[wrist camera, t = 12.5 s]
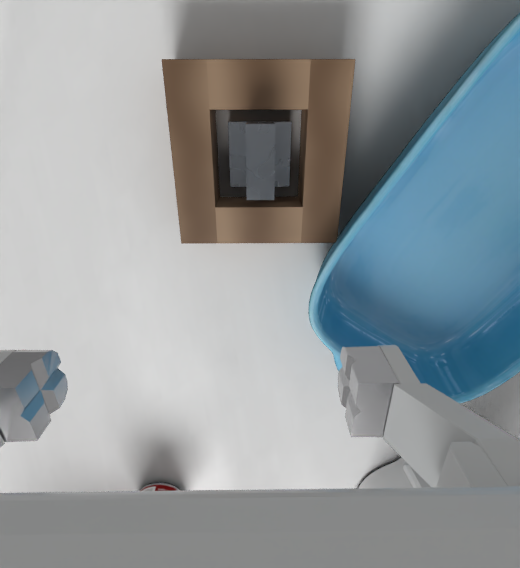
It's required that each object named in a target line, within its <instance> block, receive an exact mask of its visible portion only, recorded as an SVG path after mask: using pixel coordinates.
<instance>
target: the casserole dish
mask: <svg viewBox="0 0 520 568" xmlns="http://www.w3.org/2000/svg"><path fill="white" fill-rule="evenodd" d="M309 319H310V323H311V326H312V328H313V330H314V332H315V333H316V335H317V336H318V337H319V339H320V340H321V341H322V342H323V343H324V344H325V345H326V346H327V347H328V348H329V349H330V350H331V351H332V353H333V355H334V360H335V364H336V366H337V369H338V371H339V370H340V369H341V368H342V367H343V366H342V363H341V360H340V355H341V349H342V347H356V346H378V345H396V346H398V347H399V349H400V350H401V352H402V354H403V355H404V357H405V359H406V360H407V362H408V363H409V365H410V367H411V368H412V370H413V371H414V373H415V375H416V376H417V378H418V380H419V381H420V383H426V384H428V385H430V386H431V387H433V388H435V389H436V390H438V391H440V392H441V393H443V394H445V395H446V396H448V397H450V398H451V399H453V400H454V401H456V402H458V403H463V402H466V401H470V400H472V399H475V398H477V397H480V396H482V395H484V394H486V393H488V392H490V391H492V390H493V389H495V388H497V387H498V386H500V385H501V384H503V383H504V382H506V381H507V380H509V379H510V378H512V377H513V376H515V375H516V374H517V373H519V372H520V13H519V14H518V15H517V16H516V17H515V18H514V19H513V20H512V21H511V22H510V23H509V24H508V25H507V26H506V27H505V28H504V29H503V30H502V31H501V32H500V33H499V34H498V35H497V36H496V37H495V38H494V39H493V40H492V42H491V43H490V44H489V45H488V46H487V47H486V48H485V49H484V51H483V52H482V53H481V54H480V55H479V56H478V57H477V59H476V60H475V61H474V62H473V63H472V65H471V66H470V67H469V68H468V69H467V71H466V72H465V73H464V74H463V75H462V77H461V78H460V79H459V80H458V81H457V83H456V84H455V85H454V86H453V88H452V89H451V90H450V91H449V93H448V94H447V95H446V96H445V98H444V99H443V100H442V101H441V103H440V104H439V105H438V106H437V108H436V109H435V110H434V111H433V113H432V114H431V115H430V116H429V118H428V119H427V120H426V121H425V123H424V124H423V125H422V127H421V128H420V129H419V130H418V132H417V133H416V134H415V136H414V137H413V138H412V140H411V141H410V142H409V143H408V145H407V146H406V147H405V149H404V150H403V151H402V153H401V154H400V155H399V156H398V158H397V159H396V160H395V162H394V163H393V164H392V165H391V167H390V168H389V169H388V171H387V172H386V173H385V175H384V176H383V177H382V178H381V180H380V181H379V182H378V184H377V185H376V186H375V188H374V189H373V190H372V191H371V193H370V194H369V195H368V197H367V198H366V199H365V201H364V202H363V203H362V204H361V206H360V207H359V208H358V210H357V211H356V212H355V214H354V215H353V217H352V218H351V219H350V221H349V222H348V223H347V225H346V226H345V228H344V229H343V230H342V232H341V233H340V235H339V236H338V238H337V241H336V243H334V244H333V246H332V247H331V249H330V250H329V252H328V254H327V256H326V258H325V259H324V261H323V264H322V266H321V268H320V271H319V273H318V276H317V280H316V282H315V285H314V287H313V290H312V292H311V296H310V301H309Z"/></svg>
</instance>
